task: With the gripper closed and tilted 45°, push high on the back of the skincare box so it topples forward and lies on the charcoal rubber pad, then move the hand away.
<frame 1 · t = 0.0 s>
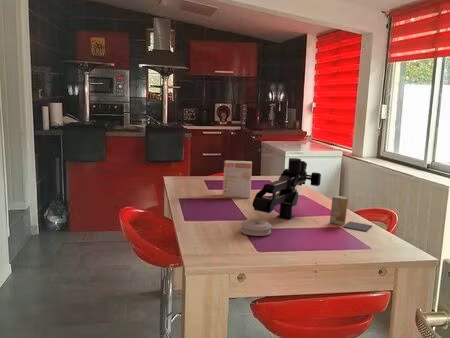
hand: (307, 175, 229), 17 cm above the table, tool horizontal, fingers open, 9 cm apart
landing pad: (357, 226, 199), on the table
coffeecake box: (236, 196, 249), on the table
lid: (255, 233, 185), on the table
skincare box: (337, 223, 204), on the table
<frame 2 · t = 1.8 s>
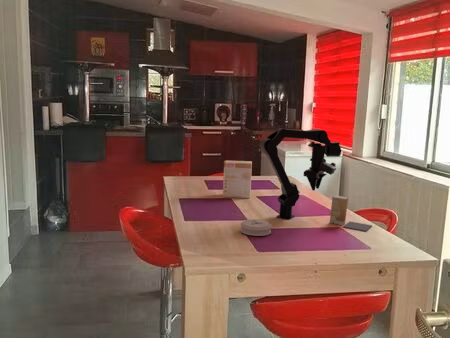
hand: (315, 189, 212), 13 cm above the table, tool pointing down, fingers open, 5 cm apart
nothing on the table moved.
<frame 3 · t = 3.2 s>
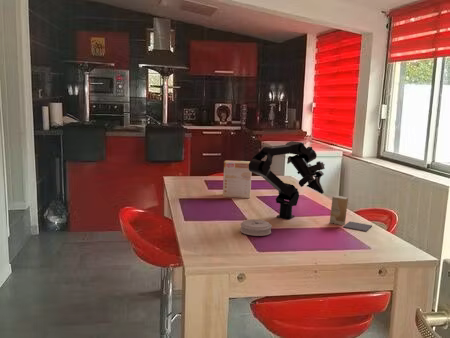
hand: (322, 193, 206), 13 cm above the table, tool tilted 45°, fingers closed
nothing on the table moved.
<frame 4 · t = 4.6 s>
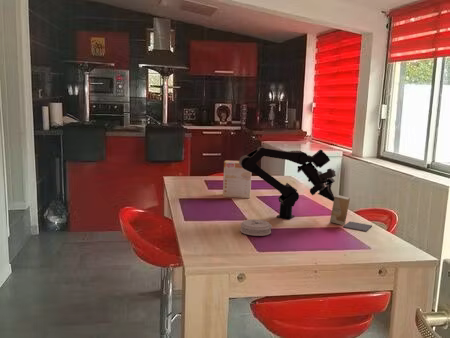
hand: (334, 200, 204), 10 cm above the table, tool tilted 45°, fingers closed, pressing on skincare box
skincare box: (337, 223, 204), on the table, touching gripper
everything else where it was.
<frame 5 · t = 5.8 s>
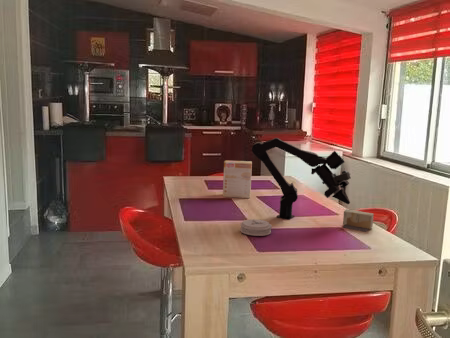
hand: (349, 203, 200), 10 cm above the table, tool tilted 45°, fingers closed
skincare box: (343, 216, 202), point 3 cm above the table, touching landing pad
everything else where it was.
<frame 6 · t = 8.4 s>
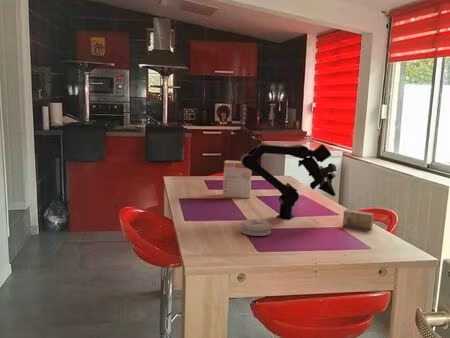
hand: (334, 195, 203), 12 cm above the table, tool tilted 45°, fingers closed
nothing on the table moved.
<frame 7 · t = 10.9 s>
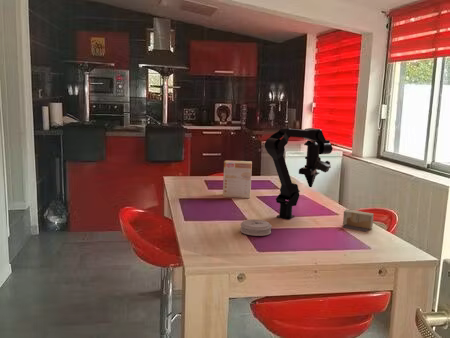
hand: (310, 187, 217), 13 cm above the table, tool pointing down, fingers closed
nothing on the table moved.
at the end: skincare box tilted 89°; skincare box touching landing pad; skincare box inside the target area (5.0 cm from its centre), point 3.4 cm above the table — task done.
